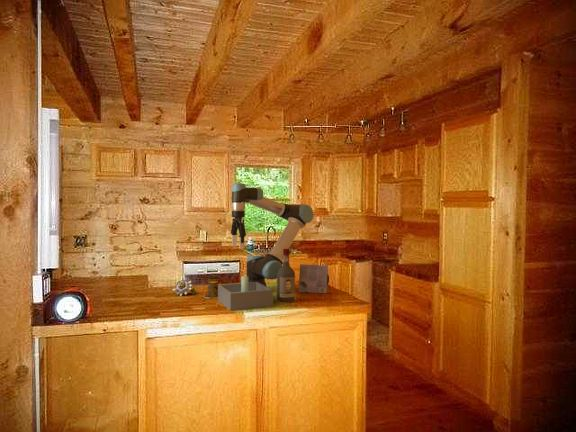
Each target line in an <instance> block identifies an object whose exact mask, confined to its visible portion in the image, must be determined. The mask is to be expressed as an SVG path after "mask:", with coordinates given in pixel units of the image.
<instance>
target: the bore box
mask: <svg viewBox="0 0 576 432" xmlns="http://www.w3.org/2000/svg"><path fill="white" fill-rule="evenodd" d="M217 301H218V302H219V303H220V304H221V305H223V306H224V307H225V308H227V310H229V311H231V312H232V311H241V310H249V309H259V308H268V307H274V306H273V305H274V290H273V289H272V288H270V287H268V286H267V287H266V286H264V285H262V284H260V283H258V282H249V283H248V292H241V283H239V282H238V283H227V284H226V283H225V284H218V297H217Z"/></svg>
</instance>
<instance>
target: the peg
mask: <svg viewBox="0 0 576 432" xmlns="http://www.w3.org/2000/svg"><path fill="white" fill-rule="evenodd" d="M248 281H249V277H248V276H247V275H242V276H241V280H240V282H241V292H248Z"/></svg>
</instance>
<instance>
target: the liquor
mask: <svg viewBox="0 0 576 432" xmlns="http://www.w3.org/2000/svg"><path fill="white" fill-rule="evenodd" d="M282 261H283V264H282V267H281V268H280V269H279V270H278V272H277V278H276V300H277V301H278V302H279V301H280V302H279V303H284V302H285V303H293V302H295V301H296V299H295V298H296V297H295V294H296V293H295V292H296V290H295V289H296V273H295V271H294V270H293V268H292V267H291V266H290V248H289V249H283V259H282ZM292 301H293V302H292Z"/></svg>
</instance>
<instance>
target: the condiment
mask: <svg viewBox="0 0 576 432" xmlns="http://www.w3.org/2000/svg"><path fill="white" fill-rule="evenodd" d="M207 280H208V281H207V294H206V295H202V297H203V298H205V299H213V298H218V285H219V281H218V276H217V275H210V276H208V279H207Z"/></svg>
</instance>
